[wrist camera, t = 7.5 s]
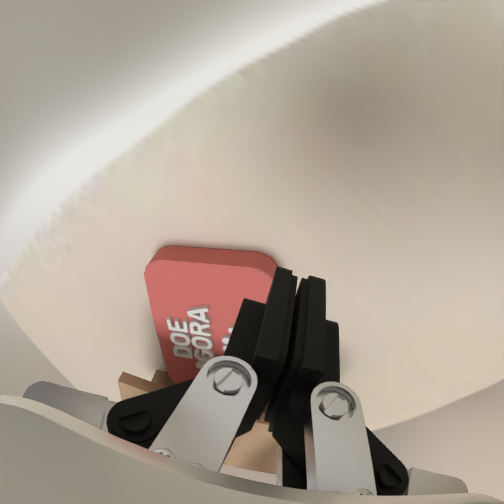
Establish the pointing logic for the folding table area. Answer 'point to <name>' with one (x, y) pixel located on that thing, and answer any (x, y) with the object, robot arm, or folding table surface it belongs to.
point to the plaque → (201, 301)
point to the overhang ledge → (244, 447)
